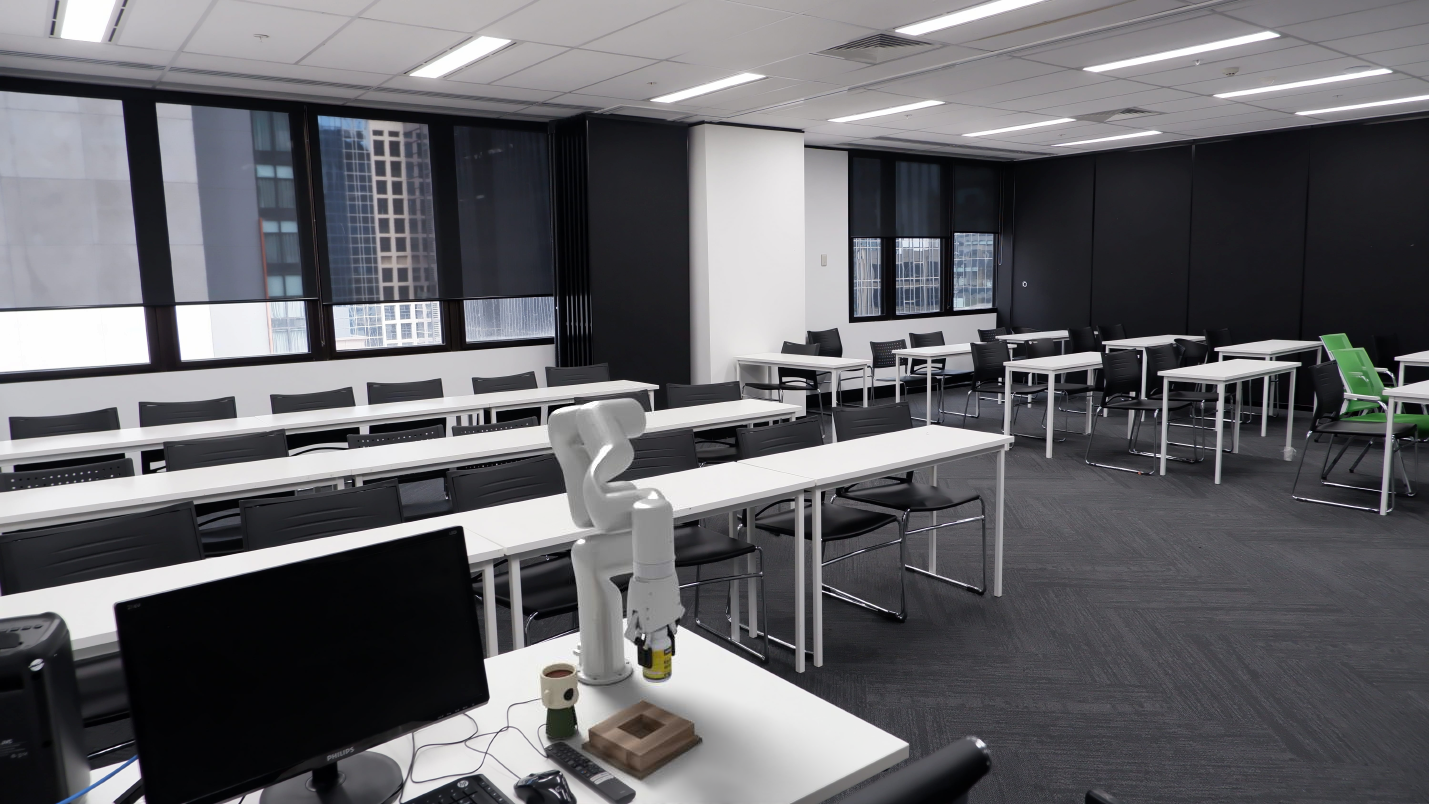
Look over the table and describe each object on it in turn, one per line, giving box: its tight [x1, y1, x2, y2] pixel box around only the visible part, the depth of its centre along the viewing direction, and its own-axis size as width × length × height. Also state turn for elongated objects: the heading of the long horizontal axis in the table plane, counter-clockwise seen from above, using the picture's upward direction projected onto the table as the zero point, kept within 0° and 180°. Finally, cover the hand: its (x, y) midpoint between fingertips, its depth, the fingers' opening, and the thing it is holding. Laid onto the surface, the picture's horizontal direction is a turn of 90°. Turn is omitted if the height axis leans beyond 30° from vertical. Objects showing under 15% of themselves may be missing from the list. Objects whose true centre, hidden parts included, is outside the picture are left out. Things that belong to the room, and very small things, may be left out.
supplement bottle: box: [641, 625, 673, 684], centre depth 158 cm, size 5×5×10 cm
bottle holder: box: [581, 699, 703, 781], centre depth 161 cm, size 16×16×4 cm
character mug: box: [539, 662, 580, 740], centre depth 165 cm, size 11×7×13 cm, turn 163°
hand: (656, 659), depth 159 cm, fingers closed on supplement bottle, 5 cm apart
